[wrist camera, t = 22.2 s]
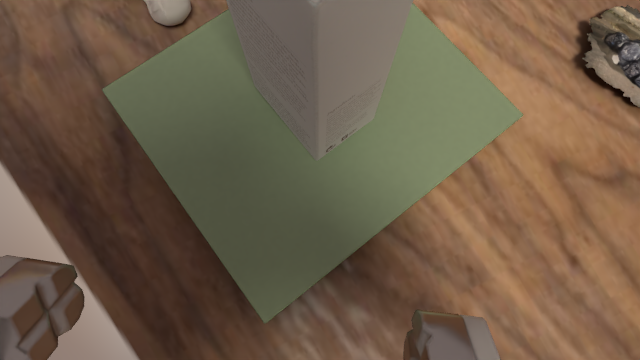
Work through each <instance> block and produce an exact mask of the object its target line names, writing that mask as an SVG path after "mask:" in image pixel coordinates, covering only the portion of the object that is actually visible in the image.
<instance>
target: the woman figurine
mask: <svg viewBox="0 0 640 360" xmlns="http://www.w3.org/2000/svg"><path fill="white" fill-rule="evenodd" d="M143 1H144V2H145V3H146V4H147V7H148V10H149V13H150V15H151V17H152V18H153V20H154V21H156V22H158V23H160V24H163V25H165V26H174V25H177V24H180V23H182V22H183V21H184V20H185V19H186V18H187V17H188V15H189V13H190V11H191V4H190V0H143Z"/></svg>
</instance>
